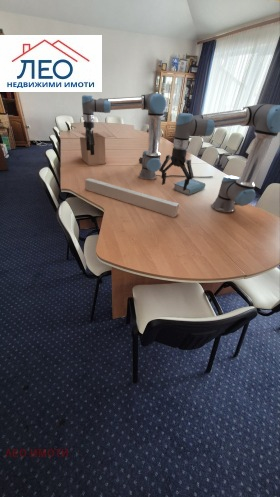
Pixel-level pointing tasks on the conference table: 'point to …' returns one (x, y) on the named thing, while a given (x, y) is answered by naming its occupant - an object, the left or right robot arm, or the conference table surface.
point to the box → (98, 147)
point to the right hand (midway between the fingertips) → (173, 187)
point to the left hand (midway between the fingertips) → (90, 152)
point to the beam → (133, 197)
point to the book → (189, 186)
